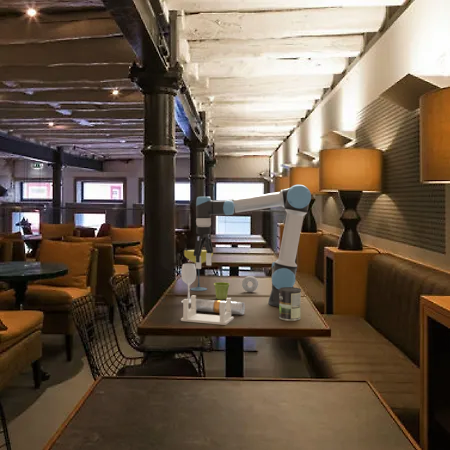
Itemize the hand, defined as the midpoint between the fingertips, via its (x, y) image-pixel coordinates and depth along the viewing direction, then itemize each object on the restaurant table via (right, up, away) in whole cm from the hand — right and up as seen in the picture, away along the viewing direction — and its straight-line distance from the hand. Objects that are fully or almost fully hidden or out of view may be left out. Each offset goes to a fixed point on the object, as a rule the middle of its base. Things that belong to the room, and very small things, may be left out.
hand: (203, 267), depth 254 cm
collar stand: (+3, -23, -25) cm, 34 cm away
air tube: (+8, -22, -10) cm, 26 cm away
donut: (+26, -19, +44) cm, 55 cm away
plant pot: (+9, -20, +25) cm, 33 cm away
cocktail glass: (-6, -19, +53) cm, 57 cm away
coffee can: (+42, -23, -21) cm, 52 cm away
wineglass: (-9, -21, +15) cm, 27 cm away
